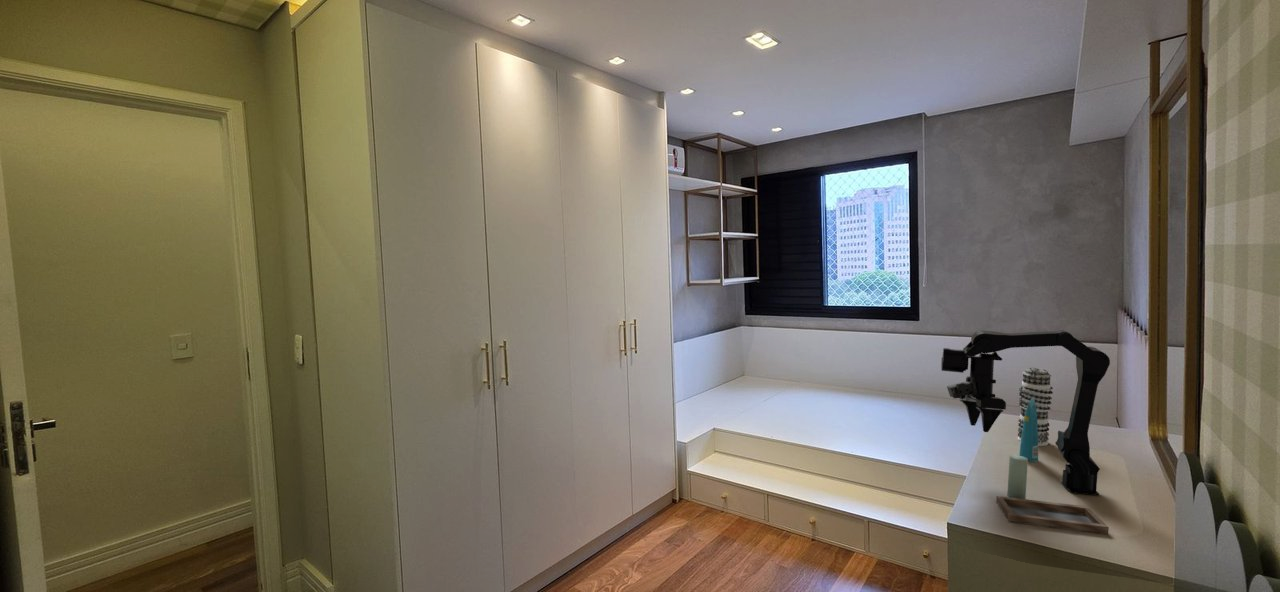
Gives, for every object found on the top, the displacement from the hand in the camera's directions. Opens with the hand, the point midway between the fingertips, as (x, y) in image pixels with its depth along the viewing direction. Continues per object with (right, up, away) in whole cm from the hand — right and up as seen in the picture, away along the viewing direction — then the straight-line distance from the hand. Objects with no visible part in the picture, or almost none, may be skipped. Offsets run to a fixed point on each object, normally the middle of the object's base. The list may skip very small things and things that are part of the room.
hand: (979, 428), depth 157 cm
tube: (+24, -13, +14) cm, 31 cm away
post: (+3, -16, -11) cm, 20 cm away
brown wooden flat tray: (+4, -17, -22) cm, 28 cm away
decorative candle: (+36, -12, +29) cm, 48 cm away
